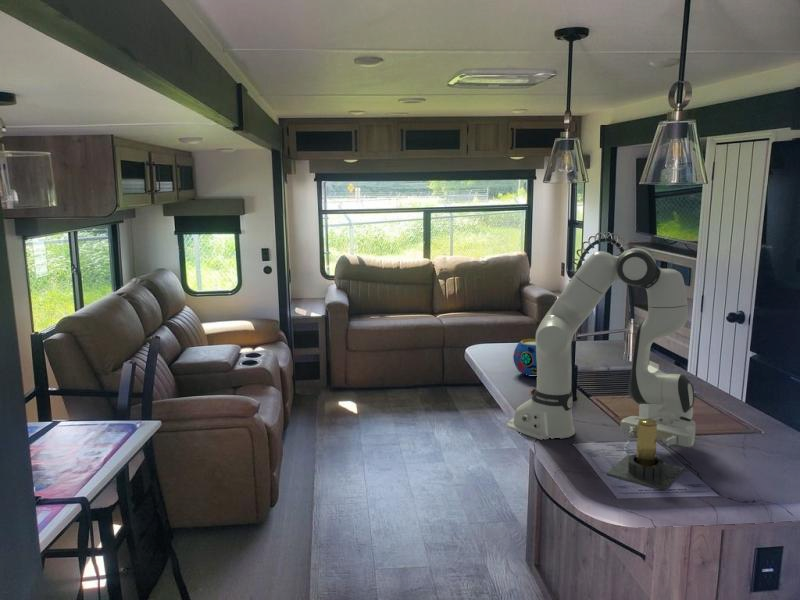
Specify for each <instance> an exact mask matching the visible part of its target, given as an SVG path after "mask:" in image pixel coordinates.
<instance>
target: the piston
mask: <svg viewBox="0 0 800 600" xmlns="http://www.w3.org/2000/svg"><path fill="white" fill-rule="evenodd" d="M656 435H657V423H656V421H654V420H651V419H640V420H639V422H638V431H637V436H636V453H635V454H636V463H638V464H641V465H647V466H652V465H655V457H656V454H657V453H656V452H657V440H656Z"/></svg>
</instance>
